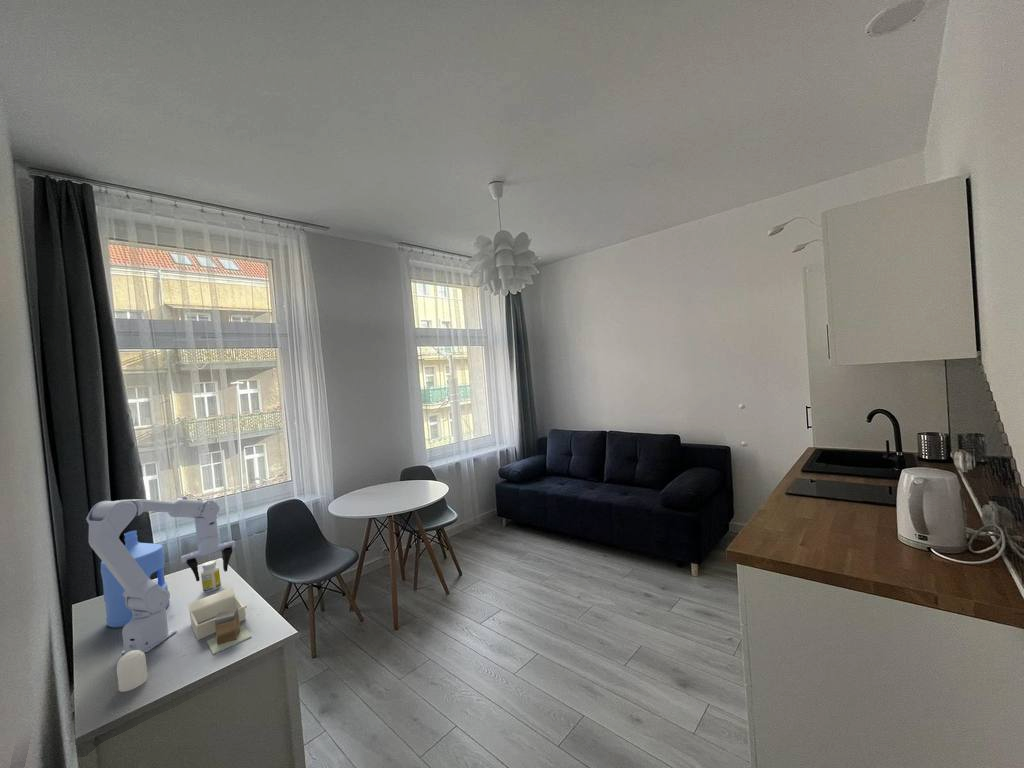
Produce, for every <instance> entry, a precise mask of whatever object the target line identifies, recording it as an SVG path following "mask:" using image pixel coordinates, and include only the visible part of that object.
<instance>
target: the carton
mask: <svg viewBox="0 0 1024 768" xmlns="http://www.w3.org/2000/svg"><path fill="white" fill-rule="evenodd" d="M247 607H248V605H244V604H243V603H242V602H241V601H240V599H239V598H238V597H237V595H236V593H235V591H234V587H230V588H227V589H225V590H221V591H219V592H216V593H213V594H211V595H208V596H204V597H203V598H200V599H197V600H195V601H192V602H189V603H187V608H188V611H189V617H190V626H191V628H192V631H193V632H194V635H195V636H196V639H197V641H199V640H200V639H203V638H205V637H209V636H210V635H213V634H216V627H215V619H216V618H217V616H218V614H219V613H220V612H223V611H227V610H231V609H235V608H238V614H239V623H241V622H244V621H245V620H246V619H247V617H246V610H245V608H247Z"/></svg>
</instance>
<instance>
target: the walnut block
mask: <svg viewBox="0 0 1024 768" xmlns="http://www.w3.org/2000/svg"><path fill="white" fill-rule="evenodd" d="M216 617H217V618H216ZM216 617H215V618H216V619H215V627H216V632H215V634H216V636H215V637H217V645H220V644H223V643H227V642H230V641H234V640H236V639H237V637H238V635H239V633H240V626H241V624H240V623H241V622H239V614H238V608H235V609H231V610H227V611H223V612H220V613H219V614H218V615H217V616H216Z"/></svg>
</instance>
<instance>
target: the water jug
mask: <svg viewBox="0 0 1024 768" xmlns="http://www.w3.org/2000/svg"><path fill="white" fill-rule="evenodd" d="M137 532H138V531H137V530H131V531H128V532H125V533H124V534H123V535H124V539H123V540H124V542H125V544H124V546H125V547H126V549H127V550H128V551H129V553H130V554H131V555H132V557H133V558H134V559H135V561H136V562H137V563H138V565H139V566H140V567H141V569H142V570H143V571H144V573H145V574H146V575H147V577H148V578H149V579H151V576H152V574H154V573H155V572H156V574H157V581H155V582H156V583H157V584H158V585H159V586H160V587H161V588H165V589H167V590H168V591H169V589H168V584H167V582H166V581H165V580H166V579H165V571H164V567H165V565H166V563H165V550H164V546H163V545H162V544H160V543H151V542H150V543H148V542H139V541H138V535H137ZM100 575H101V578H102V588H103V593H102V594H103V595H102V596H103V600H104V604H105V605H104V606H105V612H106V613H105V614H106V618H105V619H106V621H105V622H106V625H107V626H108V627H110V628H124V626H125V625H126V624H128V623H129V622H130V621H131V619H132V618H133V615H132V610H129V609H128V608H127V607H126V600H125V597H124V596H123V593H124V591H125V589H124V588H123V587H122V586H121V584H120V583H119V582H118V581H117V579H116V578H115V577H114V575H113V574H112V573H111V572H110V570H109V569H108V568H107V567H106V565H105V564H104V563H103V562H102V561H101V562H100ZM170 602H171V601H170V599H169V601H168V603H167V605H166V608H168V607H169V605H170Z"/></svg>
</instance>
